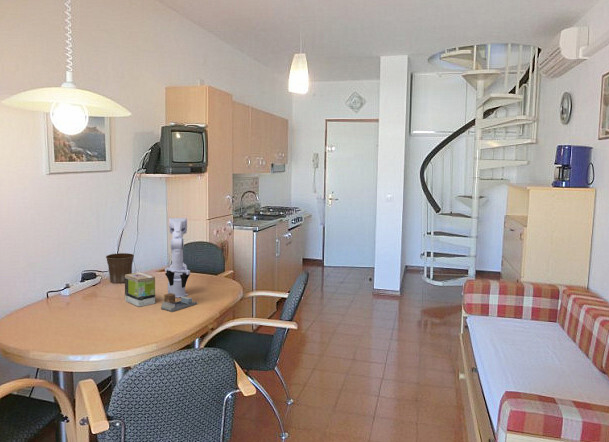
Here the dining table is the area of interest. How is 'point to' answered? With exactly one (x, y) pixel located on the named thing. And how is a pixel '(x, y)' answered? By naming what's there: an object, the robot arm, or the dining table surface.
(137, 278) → the tea box
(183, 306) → the vise
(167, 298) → the block
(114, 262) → the plant pot
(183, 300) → the block
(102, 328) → the dining table surface
